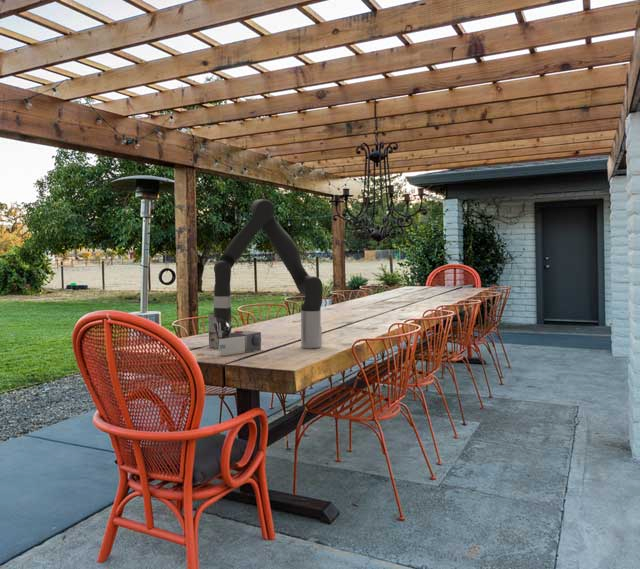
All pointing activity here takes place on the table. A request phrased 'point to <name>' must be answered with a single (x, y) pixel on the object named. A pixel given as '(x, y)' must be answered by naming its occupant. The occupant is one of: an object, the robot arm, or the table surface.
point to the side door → (232, 345)
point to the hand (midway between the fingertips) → (222, 345)
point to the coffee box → (214, 331)
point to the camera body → (249, 339)
